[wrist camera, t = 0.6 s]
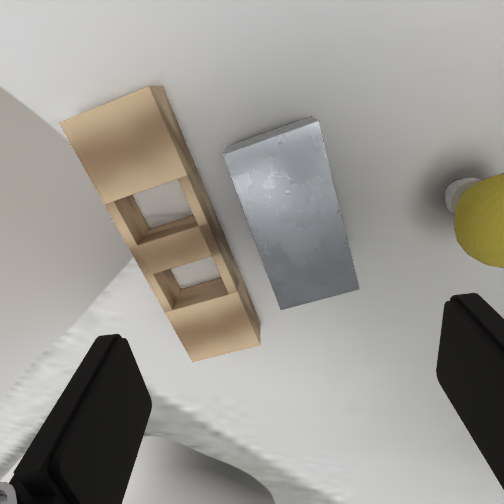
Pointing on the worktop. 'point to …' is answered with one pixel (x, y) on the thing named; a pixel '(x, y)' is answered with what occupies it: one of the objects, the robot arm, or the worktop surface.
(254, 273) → the worktop surface
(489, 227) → the light bulb
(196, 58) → the worktop surface
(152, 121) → the light brown long block
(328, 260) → the brushed steel slab
